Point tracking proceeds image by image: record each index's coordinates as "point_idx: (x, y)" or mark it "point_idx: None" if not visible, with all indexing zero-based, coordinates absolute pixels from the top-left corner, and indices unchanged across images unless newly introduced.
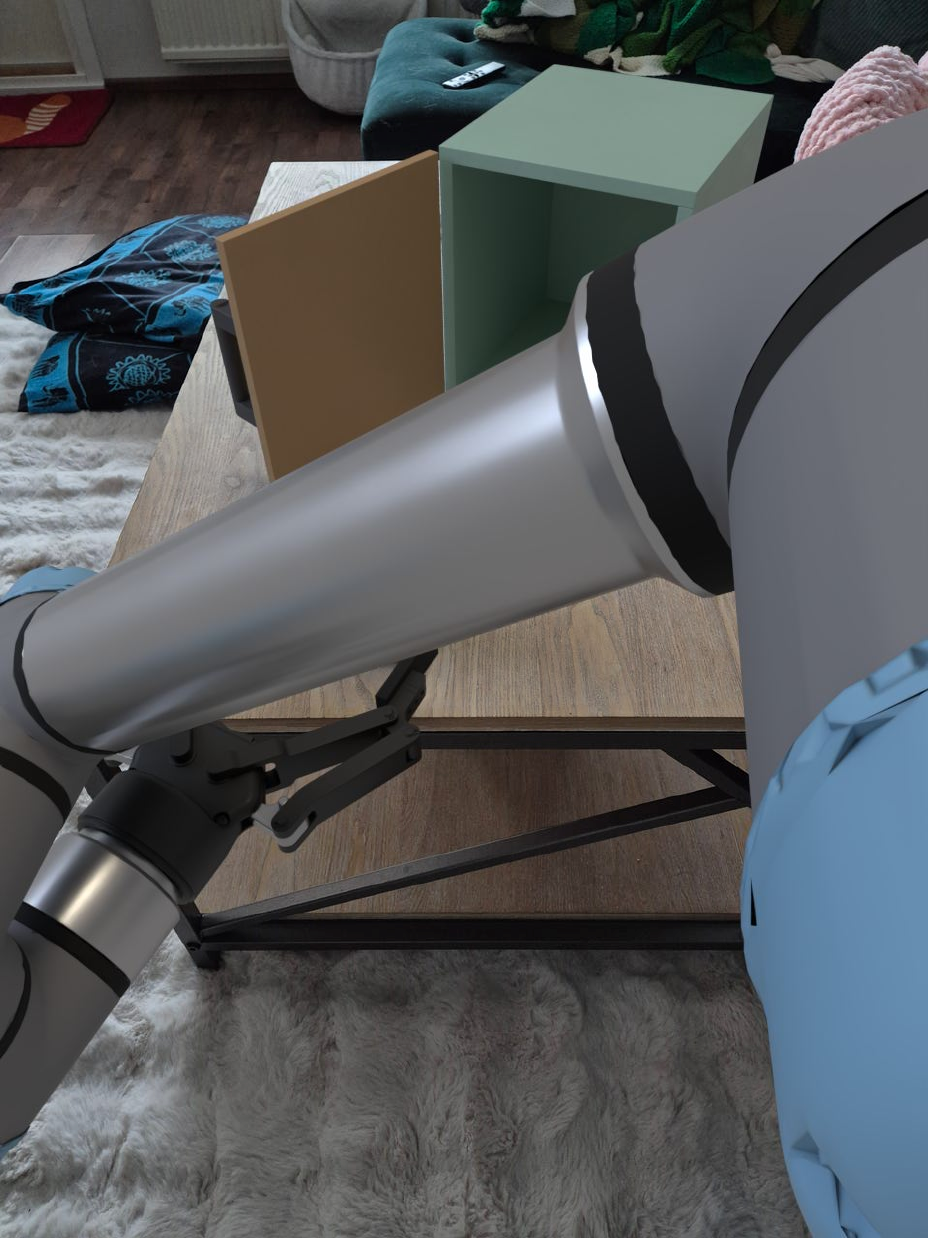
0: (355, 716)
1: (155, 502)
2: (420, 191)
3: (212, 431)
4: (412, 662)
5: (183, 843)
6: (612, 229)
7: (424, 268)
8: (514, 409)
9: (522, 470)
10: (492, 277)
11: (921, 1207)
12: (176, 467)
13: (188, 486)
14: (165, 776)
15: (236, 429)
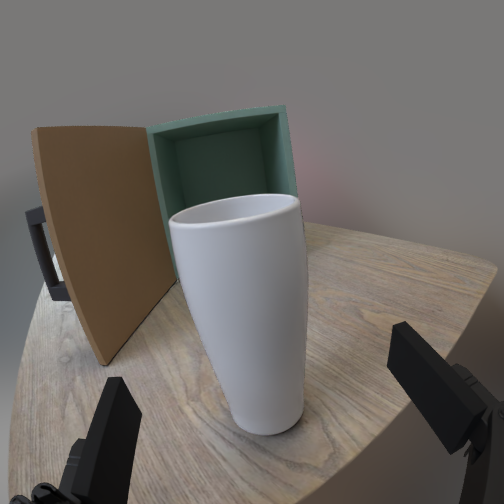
0: (490, 454)
1: (21, 387)
2: (140, 142)
3: (44, 337)
4: (442, 360)
5: None
6: (214, 190)
7: (148, 186)
8: None
9: None
10: (175, 208)
11: None
12: (29, 362)
13: (38, 371)
14: None
15: (58, 332)
